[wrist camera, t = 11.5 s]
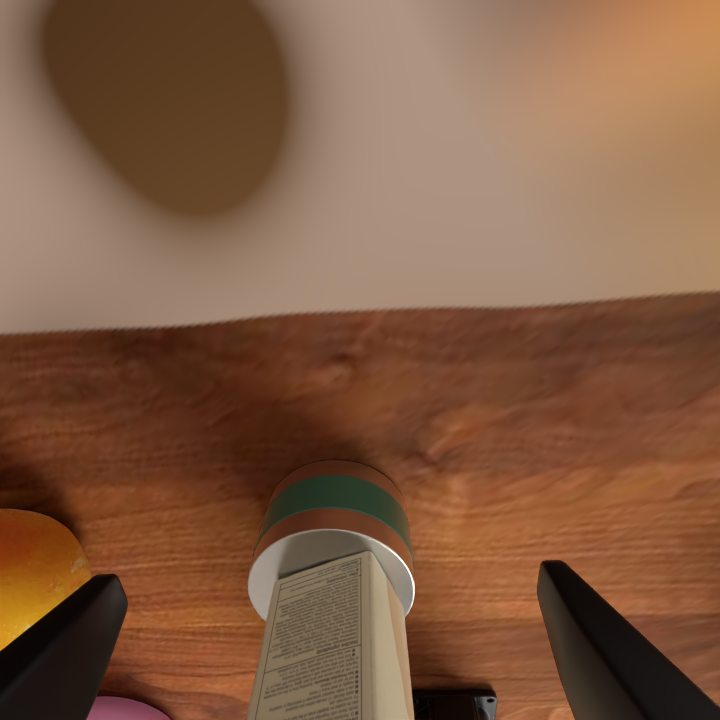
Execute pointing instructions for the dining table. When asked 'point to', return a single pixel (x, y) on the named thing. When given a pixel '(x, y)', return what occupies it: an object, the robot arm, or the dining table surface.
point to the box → (334, 647)
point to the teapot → (123, 710)
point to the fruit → (35, 569)
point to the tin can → (332, 528)
